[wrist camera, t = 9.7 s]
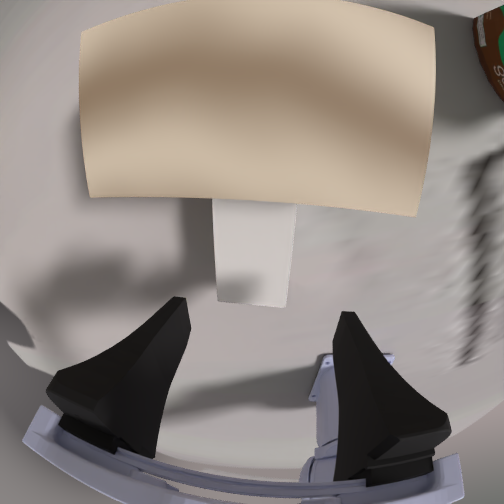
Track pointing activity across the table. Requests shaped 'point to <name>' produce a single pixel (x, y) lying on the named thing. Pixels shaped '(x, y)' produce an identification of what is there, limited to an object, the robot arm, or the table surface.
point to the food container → (491, 46)
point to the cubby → (260, 103)
